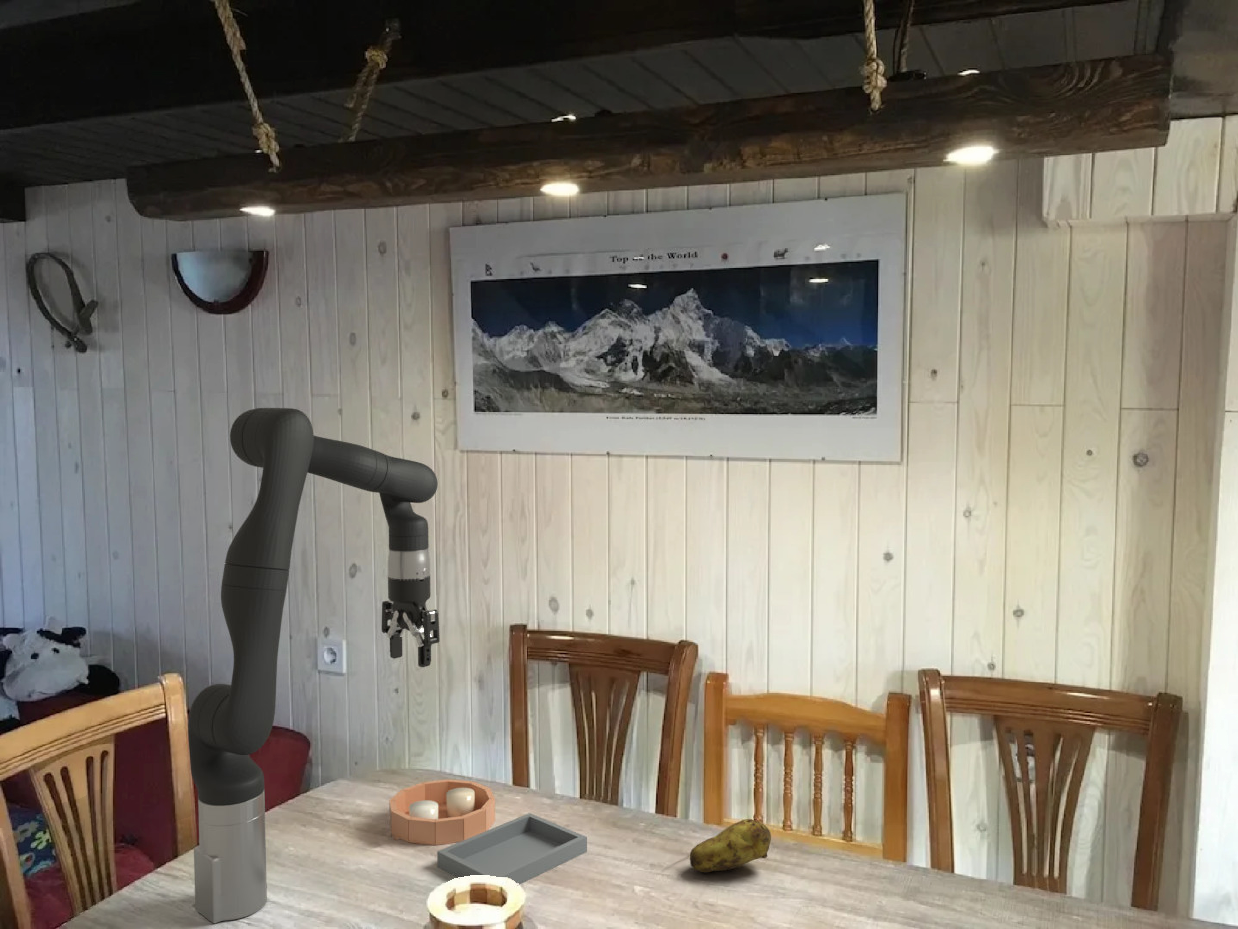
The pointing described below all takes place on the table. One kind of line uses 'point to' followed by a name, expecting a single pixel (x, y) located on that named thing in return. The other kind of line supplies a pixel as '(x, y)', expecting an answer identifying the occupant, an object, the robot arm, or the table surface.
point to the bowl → (440, 813)
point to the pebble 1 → (424, 809)
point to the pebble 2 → (460, 802)
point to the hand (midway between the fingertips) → (410, 662)
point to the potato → (732, 847)
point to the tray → (513, 850)
